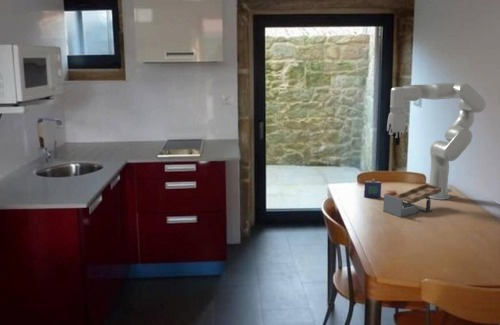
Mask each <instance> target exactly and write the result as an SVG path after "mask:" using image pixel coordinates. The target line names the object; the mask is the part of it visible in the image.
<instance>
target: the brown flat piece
mask: <svg viewBox="0 0 500 325" xmlns="http://www.w3.org/2000/svg"><path fill="white" fill-rule="evenodd" d="M439 192H441V188H440V187H436V186H433V185H429V184H428V183H424V184H422V185H419V186H416V187H415V188H414V187H413V188H412V189H408V190H406V191H404V192H400V193H398V192H397V191H396V190H395V189H389V190H386V192H385V193H384V194H387V195H390V196H393V197H396V198H400V199H403V202H406V203H407V202H410V203H411V204H416V203H417V202H419V201H422V200H424V199H425V200H432V198H430V196H432V195H434V194H437V193H439Z"/></svg>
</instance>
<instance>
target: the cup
mask: <svg viewBox="0 0 500 325" xmlns="http://www.w3.org/2000/svg"><path fill="white" fill-rule="evenodd" d="M412 204H413V203H411V204H409V203H407V201H404V200H403V199H400V198H396V197H393V196H390V195H387V194H385V193H384V194H383V208H382V209H383V210H382V211H383V212H384V213H386V212H387V213H388V214H389V213H390V214H389V215H392V214H393V216H395V215H396V217H397V218H398V217H399V218H404V217H409V216H414V215H417V214H418V210H417V207H418V206H419V205H418V206H416V205H417V204H414V205H412ZM402 206H404V208H403V209H402Z"/></svg>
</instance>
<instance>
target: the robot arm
mask: <svg viewBox="0 0 500 325" xmlns="http://www.w3.org/2000/svg"><path fill="white" fill-rule="evenodd" d="M420 99H423V100H425V99H426V100H448V99H458V100H459V101H458V109H459V112H458V116H457V118H456V119H455V121H453V123H452V124H451V125H450V126H449V127H448V128H447V130H446V131H445V133H444V138H445V140H446V141H444V140H436V141H434V142H433V143H432V144H431V146H430V149H429V151H430V152H429V153H430V172H429V173H430V174H429V182H428V183H429V185H433V186H436V187H440V188H441V192H439V193H437V194H434V195H432V196H430V198H431V200H438V201H440V200H442V201H443V200H449V199H450V197H451V196H450V195H449V193H451V192H452V191H453V189H452V188H448V185H449V172H450V162H454V161H456V160H457V159H458V158H460V156H461V155H462V153H463V152H464V151H465V150H466V149H467V148H468V147H469V145H471V142H472V140H473V132H472V131H471V130H470V128H472V126H473V124H474V121H475V113H477V114H478V113H482V112H483V111H484V110H485V109H486V106H487V101H486V100H485V98H484V96H482V95H481V94H480V93H479V92H478V91H477V90H476V89H475V88H474V87H473V86H471V84H469V83H467V82H457V81H456V82H443V83H442V82H441V83H439V82H438V83H427V84H425V83H424V84H409V85H403V86H394V87H392V88H391V89H390V105H389V113H388V117H387V124H386V131H387V132H388V135H389V136H392V145H393V146H400V141H401V136H402V135H403V134H405V131H406V128H407V127H406V126H407V120H406V118H407V117H406V101H408V102H409V101H410V102H416V101H418V100H420Z"/></svg>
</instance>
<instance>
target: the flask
mask: <svg viewBox="0 0 500 325" xmlns="http://www.w3.org/2000/svg"><path fill="white" fill-rule="evenodd" d="M375 179H376V178H372V179H371V180H365V181H364V192H363V197H364V198H366V199H380V198H382V181H375Z"/></svg>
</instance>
